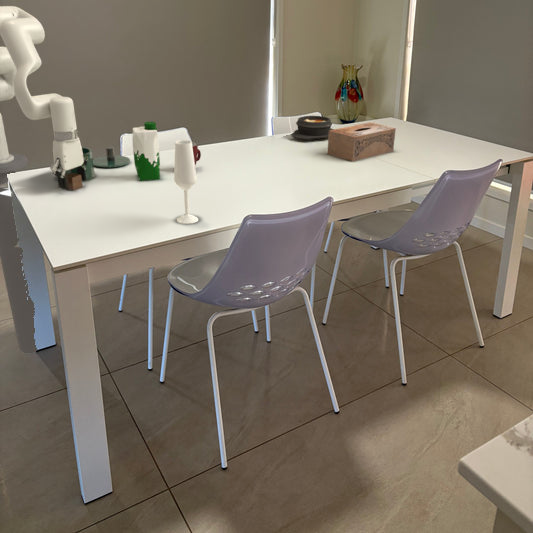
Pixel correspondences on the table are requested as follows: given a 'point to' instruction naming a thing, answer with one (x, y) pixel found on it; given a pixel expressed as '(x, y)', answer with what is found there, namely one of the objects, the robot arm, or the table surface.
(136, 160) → the milk carton
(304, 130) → the casserole
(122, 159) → the lid
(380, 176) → the table surface
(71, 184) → the block
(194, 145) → the mug
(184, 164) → the champagne flute
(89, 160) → the pot
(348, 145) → the tissue box cover
